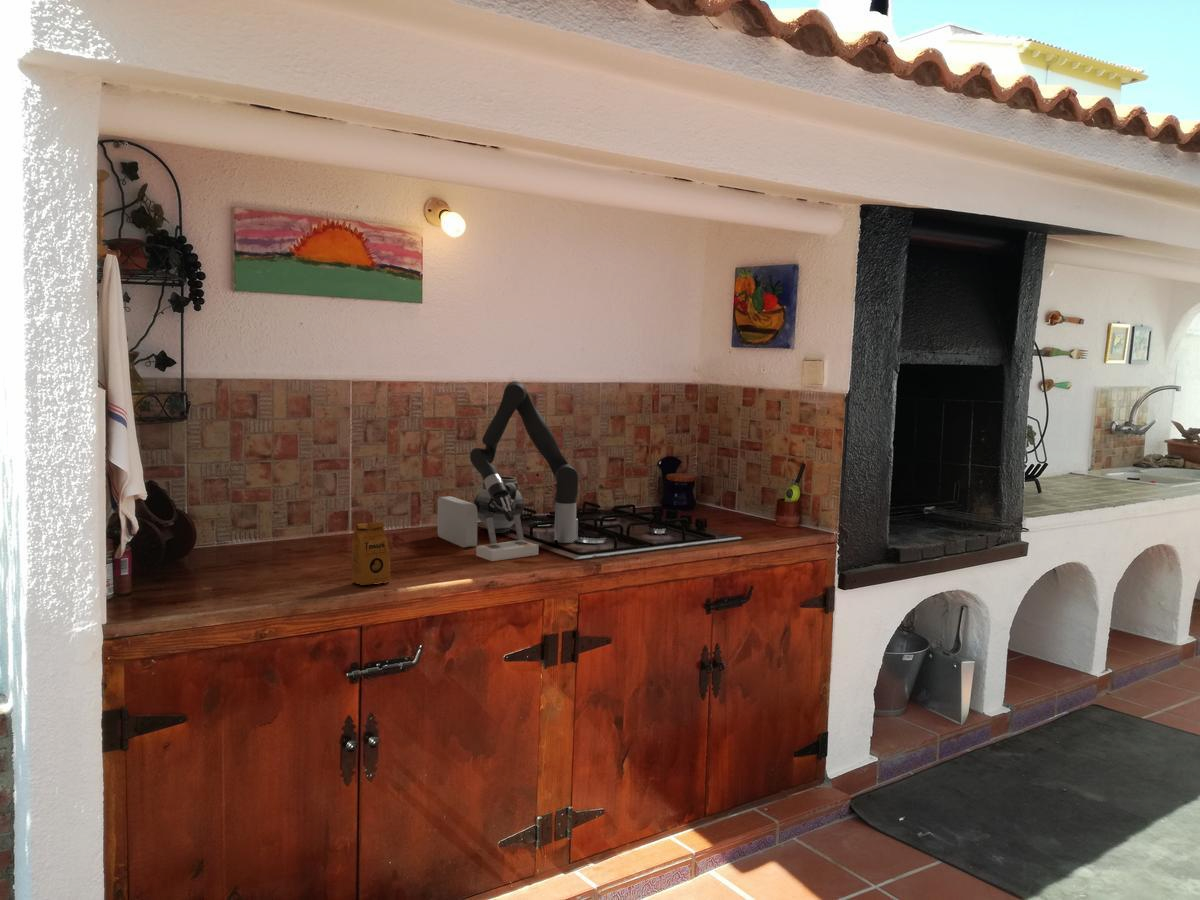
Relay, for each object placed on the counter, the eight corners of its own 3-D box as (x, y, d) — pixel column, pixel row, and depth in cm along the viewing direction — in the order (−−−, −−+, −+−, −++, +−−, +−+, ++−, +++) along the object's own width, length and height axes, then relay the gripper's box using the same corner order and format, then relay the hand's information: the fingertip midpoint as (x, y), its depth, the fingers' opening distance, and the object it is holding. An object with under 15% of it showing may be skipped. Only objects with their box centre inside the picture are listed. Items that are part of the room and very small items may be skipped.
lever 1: (495, 543, 387) (489, 513, 389) (498, 542, 385) (493, 511, 387) (488, 544, 385) (483, 513, 387) (492, 543, 383) (486, 512, 385)
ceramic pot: (461, 527, 445) (462, 474, 442) (505, 523, 458) (505, 471, 455) (491, 538, 421) (492, 482, 419) (536, 533, 434) (537, 479, 432)
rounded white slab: (482, 546, 405) (482, 504, 403) (465, 548, 400) (465, 505, 398) (453, 535, 428) (453, 494, 426) (437, 536, 424) (437, 496, 422)
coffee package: (393, 584, 339) (393, 523, 336) (358, 589, 332) (358, 526, 330) (383, 578, 347) (382, 518, 345) (349, 582, 340) (348, 521, 338)
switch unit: (522, 549, 401) (522, 538, 401) (538, 554, 392) (538, 543, 391) (476, 555, 388) (476, 544, 387) (492, 561, 378) (492, 550, 378)
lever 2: (522, 540, 395) (516, 510, 397) (525, 539, 393) (520, 509, 395) (516, 541, 393) (510, 511, 395) (519, 539, 391) (514, 509, 393)
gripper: (485, 482, 400) (501, 516, 392) (512, 480, 408) (528, 513, 400) (478, 493, 405) (494, 527, 396) (505, 491, 413) (521, 524, 405)
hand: (511, 520), depth 398 cm, fingers closed
